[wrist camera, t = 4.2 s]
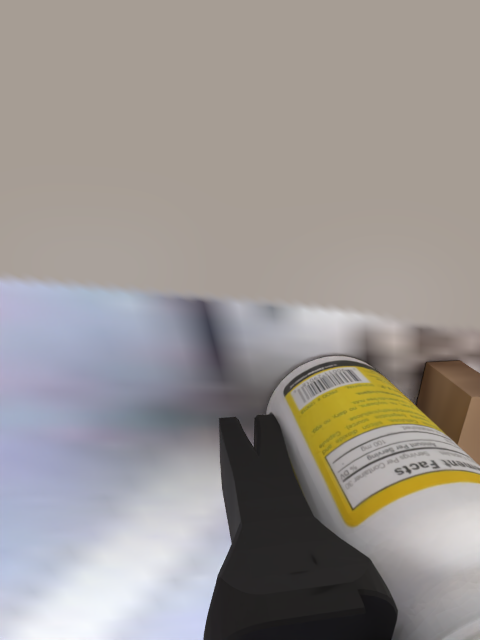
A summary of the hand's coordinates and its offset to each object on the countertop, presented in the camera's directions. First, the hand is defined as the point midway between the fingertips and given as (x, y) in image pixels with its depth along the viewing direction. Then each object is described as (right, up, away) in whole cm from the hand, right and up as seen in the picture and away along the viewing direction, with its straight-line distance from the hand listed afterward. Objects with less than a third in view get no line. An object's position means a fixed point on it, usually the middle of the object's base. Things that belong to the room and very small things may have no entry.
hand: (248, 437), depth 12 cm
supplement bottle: (+3, +1, +2) cm, 4 cm away
